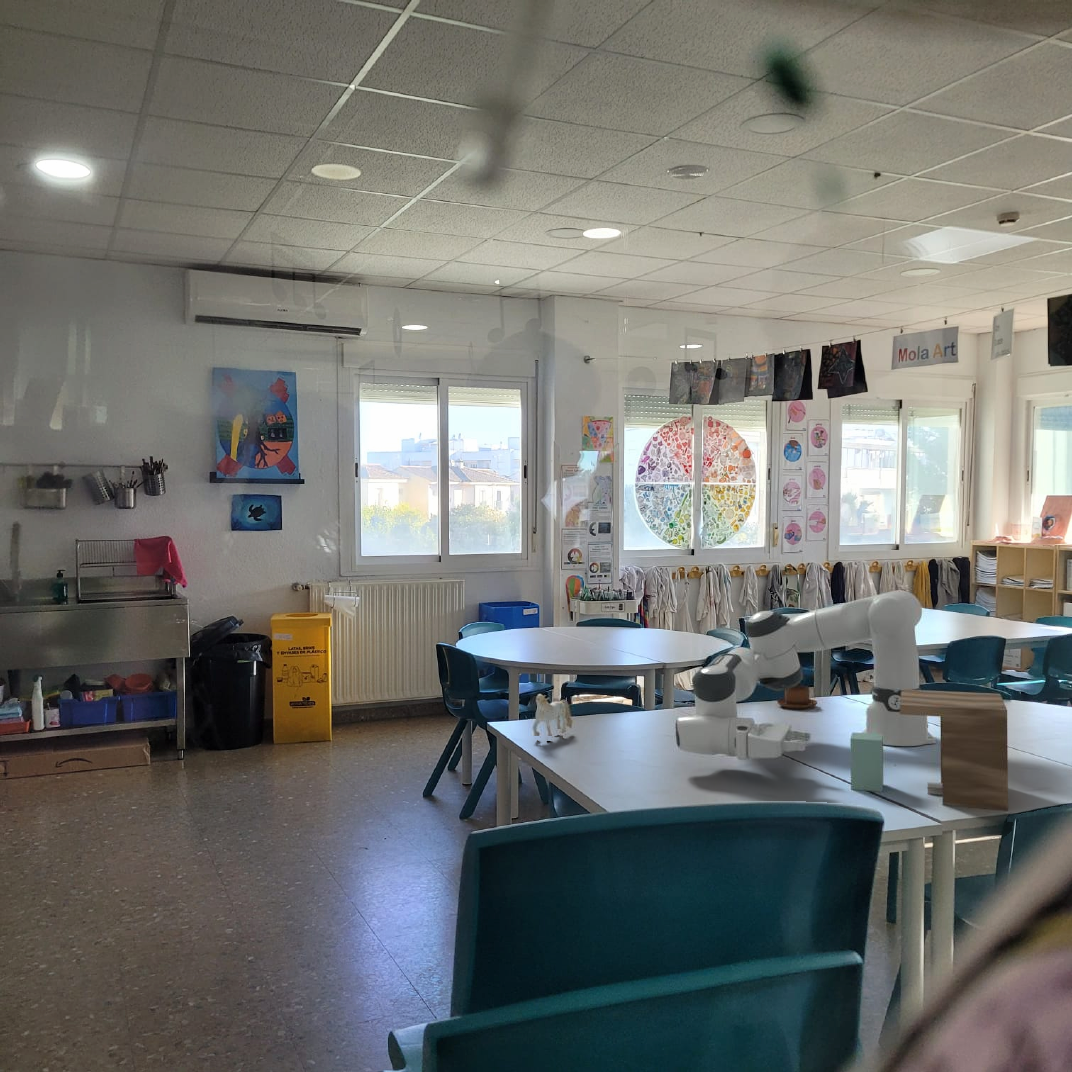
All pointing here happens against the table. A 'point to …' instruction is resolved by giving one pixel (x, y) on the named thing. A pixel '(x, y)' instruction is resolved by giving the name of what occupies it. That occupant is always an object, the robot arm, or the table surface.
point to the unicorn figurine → (552, 714)
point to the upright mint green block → (867, 761)
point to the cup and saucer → (797, 698)
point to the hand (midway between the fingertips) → (807, 741)
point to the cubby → (967, 745)
